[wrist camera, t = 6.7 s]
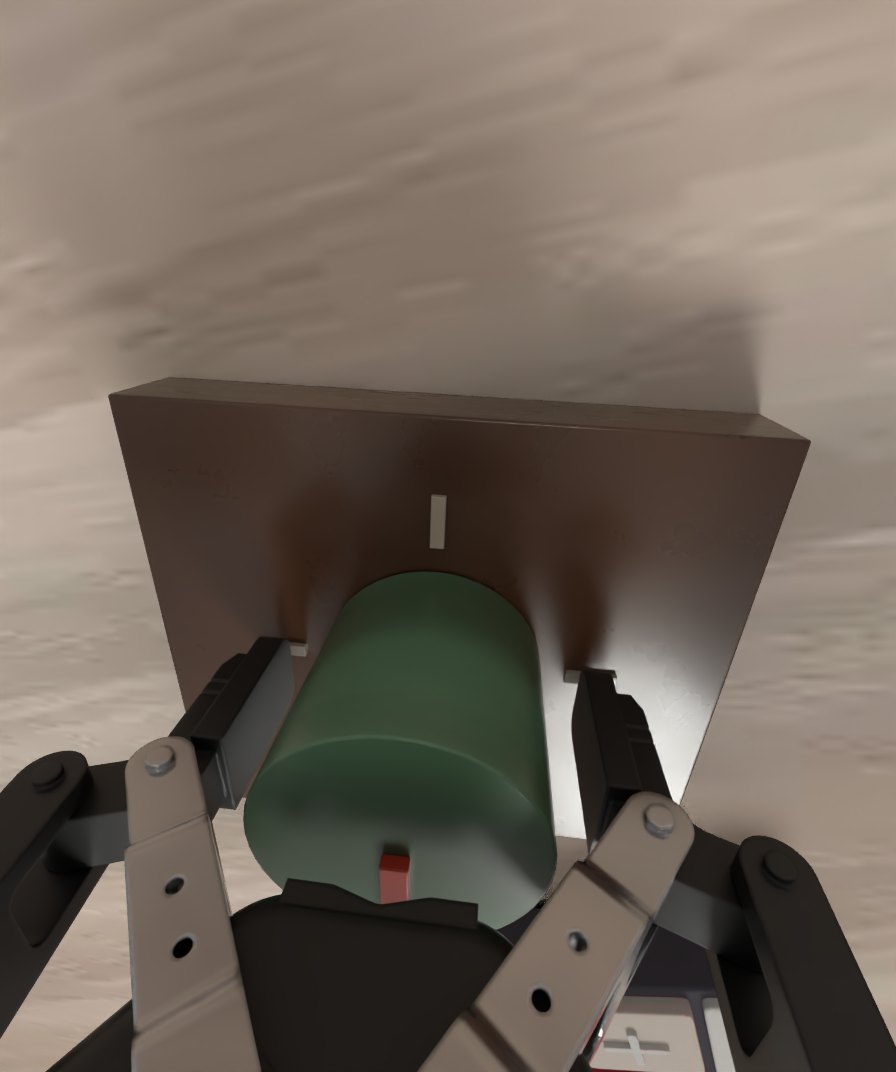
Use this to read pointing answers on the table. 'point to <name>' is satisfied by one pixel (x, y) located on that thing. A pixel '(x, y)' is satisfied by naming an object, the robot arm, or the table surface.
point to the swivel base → (464, 532)
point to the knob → (415, 755)
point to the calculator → (661, 1011)
